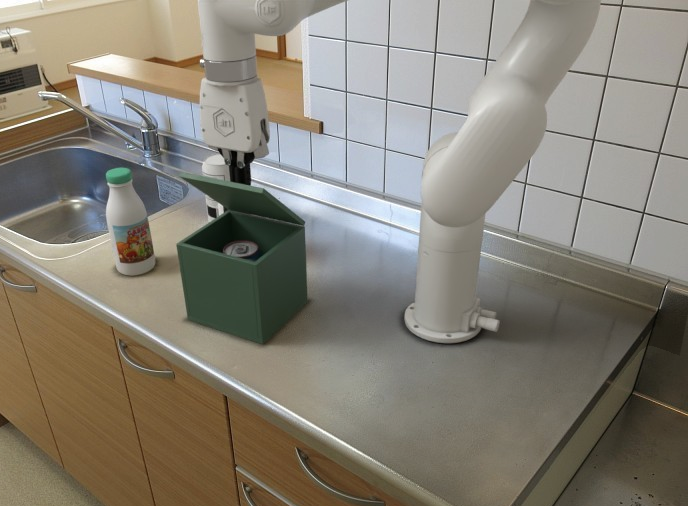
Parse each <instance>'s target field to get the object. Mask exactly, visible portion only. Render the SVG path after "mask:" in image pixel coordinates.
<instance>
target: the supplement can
mask: <svg viewBox="0 0 688 506" xmlns="http://www.w3.org/2000/svg"><path fill="white" fill-rule="evenodd" d="M201 170H202V171H201V172H202V176H204V177H209V178H214V179H219V180H224V181H229V182H230V174H229V166H227V165H226V164H225V162H224V158H223V157H222V156H221V154H220V153H219V152H217V153H212V154H210V155H207V156H206V157H204V159H203V163H202V165H201ZM204 197H205V204H206V212H207V221H208V223H209V222H211V221H212V220H214V219H215V218H217V217H218V216H219V211H218V202H216V201H215V200H213V199H212V198H210V197H209V196H207V195H206V194H204Z"/></svg>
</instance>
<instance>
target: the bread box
mask: <svg viewBox="0 0 688 506" xmlns="http://www.w3.org/2000/svg"><path fill="white" fill-rule="evenodd" d="M235 241H250V242H253V243H255V244H256V245H257V246H258V250H259V251H260V253H261V254H262V257H260V258H259V259H258V260H257V261H255V262H254V261H250V260H246V259H242V258H239V257H235V256H231V255H227V254H223V249H224V247H225V246H226V245H227V244H229V243H232V242H235ZM175 244H176V252H177V258H178V259H177V260H178V264H179V272H180V277H181V283H182V284H181V285H182V290H183V291H182V292H183V298H184V304H185V308H186V309H185V311H186V316H187V317H186V318H187V320H188V321H190V322H193V323H195V324H198V325H202V326H205V327H208V328H211V329H214V330H216V331H217V330H218V331H220V332H223V333H226V334H229V335H233V336H236V337H238V338H242V339H245V340H248V341H251V342H254V343H257V344H260V345H264V344H265V343H266V342H267V341H269V339H270V338H271V337H272V336H274V335H275V334H276V332H278V331H279V330H280V329H281V328H282V327H283V326H284V325H285V324H286V323H287V322H288V321H289V320H290V319H292V317H293V316H295V315H296V314H297V313H298V312H299V311H300V310H301V309H302V308H303V307H304V306H305V305H306V304H307V303H308V302H309V301H308V297H309V296H308V276H307V275H308V274H307V273H308V272H307V248H306V247H307V245H306V226H305V225H304V226H301V225H297V224H292V223H288V222H283V221H279V220H274V219H270V218H265V217H261V216H255V215H250V214H246V213H241V212H237V211H232V210H228V211H226V212H225V213H223V214H221V215H220V216H218V217H217V218H215V219H214V220H212V221H211V222H209V221H208V223H206V224H204V225H203V226H201V227H199V228H198V229H197V230H195V231H194V232H192V233H191V234H189V235H188V236H186V237H185V238H183V239H181V240H180V241H178V242H177V243H175Z"/></svg>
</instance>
